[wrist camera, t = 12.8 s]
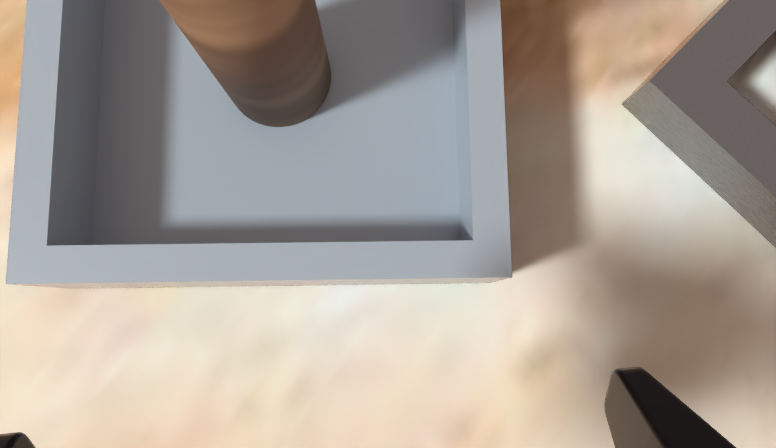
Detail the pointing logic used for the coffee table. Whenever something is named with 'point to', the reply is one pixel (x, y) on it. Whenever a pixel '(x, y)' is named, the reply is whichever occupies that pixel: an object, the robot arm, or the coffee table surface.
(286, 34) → the pin
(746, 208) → the gray square socket plate
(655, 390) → the robot arm
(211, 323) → the coffee table surface
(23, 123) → the tray
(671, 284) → the coffee table surface
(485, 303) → the coffee table surface
